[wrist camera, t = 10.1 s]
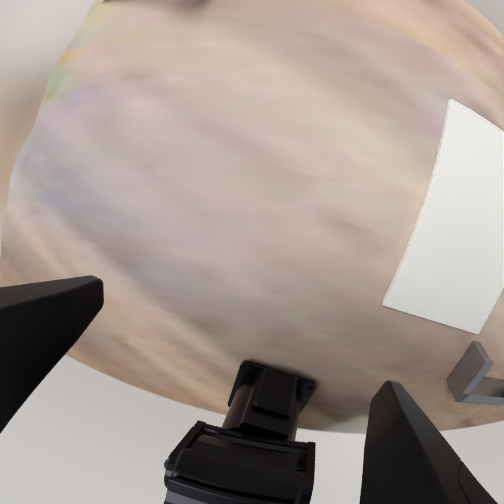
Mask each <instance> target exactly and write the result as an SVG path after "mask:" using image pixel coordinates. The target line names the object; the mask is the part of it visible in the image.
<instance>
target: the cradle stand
mask: <svg viewBox="0 0 504 504" xmlns="http://www.w3.org/2000/svg"><path fill="white" fill-rule="evenodd" d="M492 364H493V363H492V361H491V360H490V358H489V356H488V355H487V353H486V352H485V350H484V348H483V347H482V345H481V344H480V343H478V342H474V341H473V342H472V344H471V345H470V347H469V348H468V350H467V351H466V353H465V354H464V356H463V357H462V359H461V360H460V362H459V363H458V364H457V366H456V367H455V369H454V370H453V371H452V373H451V374H450V375H449V377H448V378H447V381H448V383H449V386H450V388H451V391H452V393H453V396H454V399H455V401H457V402H466V403H476V404H489V405H504V380H501V379H494V378H488V377H484V375H485V374H486V373H487V371H488V370H489V368H490V367H491V366H492Z"/></svg>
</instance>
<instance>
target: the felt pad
mask: <svg viewBox="0 0 504 504" xmlns="http://www.w3.org/2000/svg"><path fill="white" fill-rule="evenodd" d="M503 287H504V132H503V131H502V130H500V129H499V128H498V127H496V126H495V125H493V124H492V123H490V122H489V121H487V120H486V119H484V118H483V117H481V116H479V115H478V114H476V113H475V112H473V111H471V110H470V109H468V108H466V107H465V106H463V105H461V104H459V103H458V102H456V101H454V100H452V99H449V100H448V105H447V111H446V116H445V121H444V126H443V131H442V135H441V140H440V144H439V148H438V152H437V156H436V160H435V163H434V167H433V171H432V174H431V178H430V181H429V184H428V188H427V191H426V194H425V197H424V200H423V203H422V206H421V209H420V212H419V215H418V218H417V221H416V223H415V226H414V229H413V231H412V234H411V237H410V239H409V242H408V244H407V247H406V249H405V252H404V254H403V257H402V259H401V261H400V264H399V266H398V268H397V271H396V273H395V275H394V278H393V280H392V282H391V284H390V286H389V288H388V291H387V293H386V295H385V297H384V299H383V301H382V304H383V305H384V306H387V307H390V308H393V309H397V310H400V311H403V312H406V313H409V314H413V315H416V316H419V317H422V318H426V319H429V320H432V321H435V322H439V323H442V324H445V325H448V326H452V327H455V328H458V329H462V330H465V331H468V332H472V333H475V334H479V332H480V330H481V329H482V327H483V325H484V324H485V322H486V320H487V318H488V317H489V315H490V313H491V311H492V309H493V307H494V305H495V304H496V302H497V300H498V298H499V296H500V294H501V292H502V290H503Z"/></svg>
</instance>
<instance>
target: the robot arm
mask: <svg viewBox="0 0 504 504" xmlns="http://www.w3.org/2000/svg"><path fill="white" fill-rule="evenodd" d="M103 303H104V292H103V282H102V280H101V279H99V278H97V277H95V276H92V275H90V276H83V277H75V278H68V279H60V280H53V281H45V282H38V283H30V284H23V285H15V286H8V287H0V433H1V432H2V431H3V429H4V428H5V427H6V425H7V424H8V422H9V421H10V420H11V418H12V417H13V416H14V415H15V413H16V412H17V411H18V409H19V408H20V407H21V405H22V404H23V403H24V402H25V401H26V399H27V398H28V397H29V396H30V395H31V393H32V392H33V391H34V389H36V387H37V386H38V385H39V384H40V383H41V381H42V380H43V379H44V378H45V377H46V375H47V374H48V373H49V372H50V371H51V370H52V368H53V367H54V366H55V365H56V364H57V363H58V362H59V360H60V359H61V358H62V357H63V356H64V355H65V354H66V353H67V352H68V350H69V349H70V348H71V347H72V346H73V345H74V344H75V343H76V341H77V340H78V339H79V338H80V336H81V335H82V334H83V332H84V331H85V330H86V328H87V327H88V326H89V324H90V323H91V322H92V320H93V319H94V318H95V316H96V315H97V314H98V312H99V311H100V310H101V308H102V307H103ZM246 366H248V367H246ZM309 385H311V386H309ZM315 389H316V382H315V381H313V380H310V379H306V378H302V377H299V376H295V375H292V374H289V373H285V372H282V371H279V370H276V369H272V368H269V367H266V366H263V365H260V364H257V363H254V362H251V361H248V360H244V361H243V362H242V363H241V365H240V368H239V371H238V374H237V377H236V380H235V383H234V386H233V389H232V392H231V395H230V398H229V401H228V406H229V407H230V408H229V411H228V413H227V416H226V418H225V421H224V423H223V425H222V428H221V427H217V426H213V425H209V424H206V423H205V422H203V421H197V423H196V424H195V425H194V426H193V427H192V428H191V429H190V430H189V432H188V433H187V434H186V435H185V437H184V438H183V439H182V440H181V442H180V443H179V444H178V445H177V447H176V448H175V449H174V450H173V451H172V453H171V454H170V455H169V457H168V459H167V460H166V461H165V463H164V467H165V469H166V471H165V477H164V482H165V486H166V488H167V494H166V498H165V501H164V504H309V503H310V500H311V496H312V491H313V485H314V472H315V442H308V443H306V442H297V441H295V436H296V431H297V425H298V419H299V414H300V413H301V411H302V409H303V408H304V406H305V405H306V403H307V402H308V400H309V398H310V397H311V395H312V394H313V392H314V390H315ZM360 504H498V503H497V502H496V501H495V500H494V499H493V498H492V497H491V496H490V494H489V493H488V492H487V491H486V490H485V489H484V488H483V487H482V485H481V484H480V483H479V482H478V481H477V480H476V478H475V477H474V476H473V475H472V473H471V472H470V471H469V470H468V468H467V467H466V466H465V464H464V463H463V462H462V461H461V459H460V458H459V457H458V455H457V454H456V453H455V451H454V450H453V449H452V447H451V446H450V445H449V444H448V442H447V441H446V440H445V438H444V437H443V436H442V435H441V433H440V432H439V431H438V430H437V428H436V427H435V426H434V424H433V423H432V422H431V421H430V419H429V418H428V417H427V416H426V414H425V413H424V412H423V411H422V410H421V408H420V407H419V406H418V405H417V403H416V402H415V401H414V400H413V398H412V397H411V396H410V395H409V394H408V392H407V391H406V390H405V389H404V387H403V386H402V385H401V384H400V383H399V382H395V381H390V380H388V381H386V382H385V383H384V384H383V385H382V387H381V388H380V389H379V391H378V392H377V393H376V395H375V396H374V397H373V399H372V401H371V404H370V412H369V420H368V427H367V433H366V440H365V447H364V462H363V475H362V486H361V496H360Z"/></svg>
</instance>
